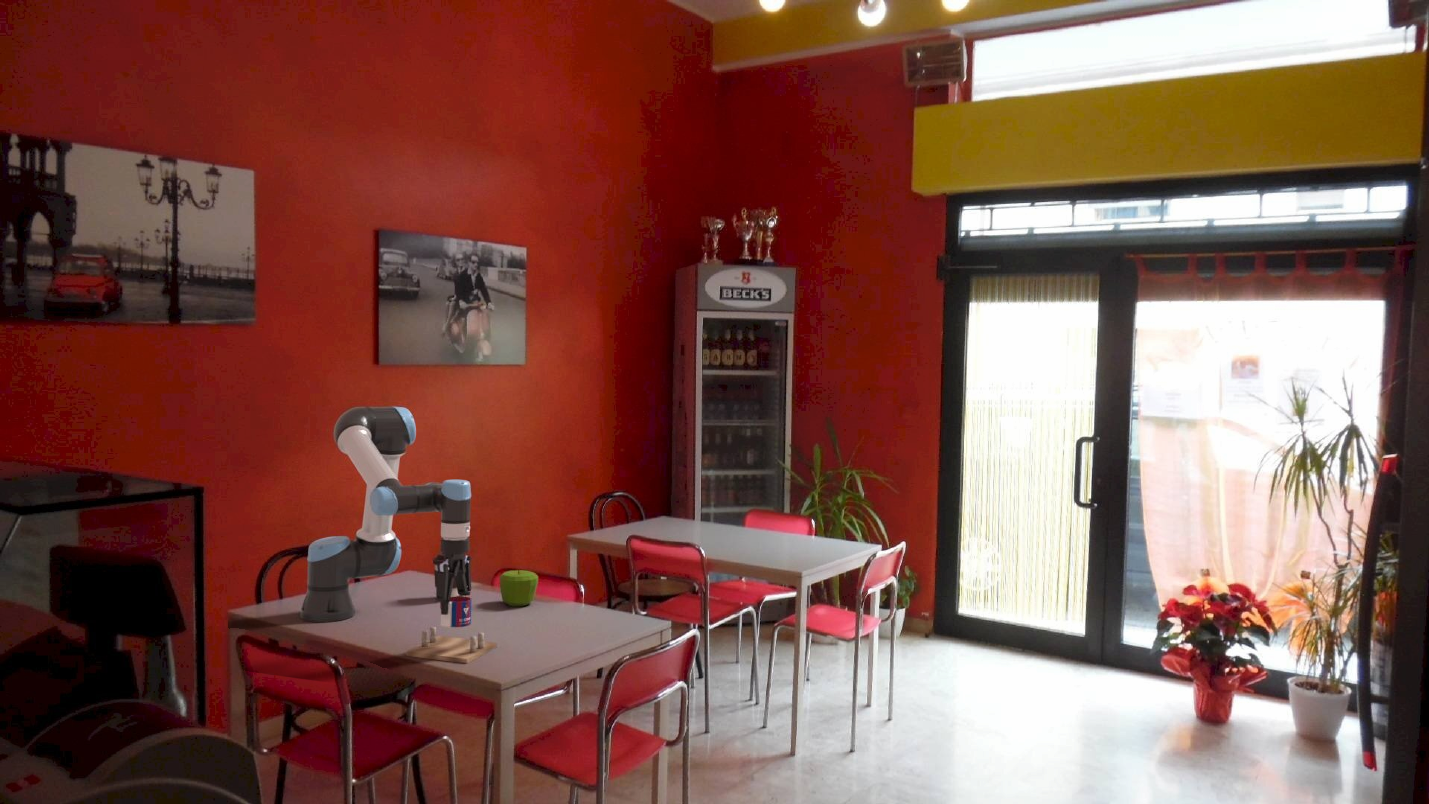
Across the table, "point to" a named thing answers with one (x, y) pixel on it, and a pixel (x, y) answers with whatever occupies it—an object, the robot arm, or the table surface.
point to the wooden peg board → (451, 647)
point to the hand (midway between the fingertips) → (453, 622)
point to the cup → (460, 611)
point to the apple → (518, 587)
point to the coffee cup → (436, 561)
